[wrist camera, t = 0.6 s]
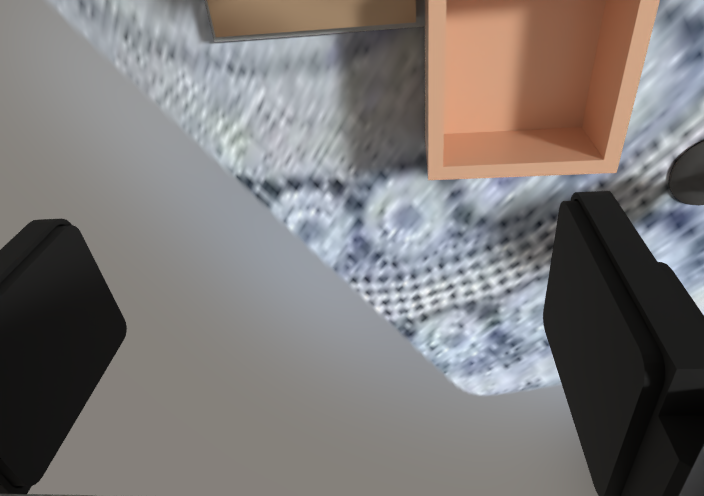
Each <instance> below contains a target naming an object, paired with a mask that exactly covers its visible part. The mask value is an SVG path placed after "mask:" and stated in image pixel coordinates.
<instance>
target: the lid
mask: <svg viewBox="0 0 704 496" xmlns="http://www.w3.org/2000/svg"><path fill="white" fill-rule="evenodd" d="M207 3H208V7H209V11H210V15H211V19H212V24H213V28H214V32H215V36H216V37H227V36H241V35H254V34H267V33H281V32H294V31H307V30H321V29H334V28H347V27H361V26H374V25H387V24H400V23H414V22H416V0H207Z"/></svg>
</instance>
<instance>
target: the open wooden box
mask: <svg viewBox="0 0 704 496" xmlns="http://www.w3.org/2000/svg"><path fill="white" fill-rule="evenodd" d="M659 1H660V0H425V147H426V159H427V170H428V180H446V179H471V178H496V177H521V176H546V175H571V174H596V173H617V169H618V165H619V161H620V157H621V153H622V149H623V145H624V141H625V137H626V133H627V129H628V125H629V121H630V117H631V113H632V109H633V105H634V101H635V97H636V93H637V89H638V85H639V81H640V77H641V73H642V69H643V65H644V61H645V57H646V53H647V49H648V45H649V41H650V37H651V33H652V29H653V25H654V21H655V17H656V13H657V9H658V5H659Z"/></svg>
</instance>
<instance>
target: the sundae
mask: <svg viewBox="0 0 704 496" xmlns="http://www.w3.org/2000/svg"><path fill="white" fill-rule="evenodd" d="M669 187H670V190H671V192H672V194H673V195H674V197H675V198H677V199H678V200H680V201H682V202H683V203H686V204H691V205H704V141H703V142H701V143H699V144H697V145H695V146H693V147H691V148H690V149H689V150H688V151H687V152H685V153H684V154H683V155H682V156H681V157H680V158H679V159H678V161H677V162H676V164H675V165H674V167H673V169H672V171H671V173H670V179H669Z"/></svg>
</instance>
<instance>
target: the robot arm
mask: <svg viewBox="0 0 704 496" xmlns="http://www.w3.org/2000/svg"><path fill="white" fill-rule="evenodd" d="M543 322H544V329H545V332H546V336H547V339H548V342H549V345H550V348H551V351H552V354H553V358H554V361H555V364H556V367H557V370H558V373H559V377H560V380H561V383H562V386H563V389H564V392H565V395H566V399H567V402H568V405H569V408H570V411H571V414H572V417H573V420H574V424H575V427H576V430H577V433H578V436H579V439H580V443H581V446H582V449H583V452H584V455H585V458H586V461H587V464H588V468H589V471H590V473H591V477H592V481H593V484H594V487H595V489H596V491H597V493H598V495H599V496H704V315H703V314H702V312H701V311H700V310H699V308H698V307H697V305H696V304H695V302H694V301H693V299H692V298H691V296H690V295H689V294H688V292H687V291H686V289H685V288H684V286H683V285H682V283H681V282H680V280H679V279H678V278H677V276H676V275H675V273H674V272H673V270H672V269H671V268H670V267H669V266H668V265H667V264H665V263H662V262H657V261H656V259H655V258H654V256H653V255H652V253H651V252H650V250H649V249H648V247H647V246H646V244H645V243H644V241H643V240H642V238H641V237H640V235H639V234H638V232H637V231H636V229H635V228H634V226H633V225H632V223H631V221H630V220H629V218H628V217H627V215H626V214H625V212H624V211H623V209H622V208H621V206H620V205H619V203H618V202H617V200H616V199H615V197H614V196H613V194H612V193H611V192H610V191H597V192H577V193H574V194H573V195H572V198H571V201H563V202H562V203H561V205H560V209H559V215H558V221H557V228H556V234H555V240H554V247H553V253H552V259H551V266H550V272H549V279H548V285H547V291H546V298H545V304H544V311H543ZM126 329H127V328H126V322H125V319H124V317H123V315H122V313H121V311H120V309H119V307H118V305H117V303H116V302H115V300H114V298H113V296H112V294H111V292H110V290H109V288H108V286H107V284H106V282H105V280H104V278H103V276H102V274H101V272H100V270H99V268H98V266H97V264H96V262H95V260H94V258H93V256H92V254H91V252H90V250H89V248H88V246H87V244H86V242H85V240H84V238H83V236H82V234H81V232H80V231H79V229H78V228H77V227H75V226H73V225H71V223H70V222H68V221H67V220H65V219H44V220H33V221H32V222H30V223H29V224H27V225H26V226H25V227H24V228H23V229H22V230H21V231H20V232H19V233H18V234H17V235H16V236H15V237H14V238H13V239H11V240H10V241H9V242H8V243H7V244H6V245H5V246H4V247H3V248H2V249H1V250H0V496H93V495H37V494H27V493H28V491H29V490H30V488H31V486H33V485H35V484H36V483H37V482H39V481H40V479H41V478H42V477H43V475H44V473H45V472H46V470H47V468H48V466H49V465H50V463H51V461H52V460H53V458H54V456H55V455H56V453H57V451H58V449H59V448H60V446H61V444H62V443H63V441H64V439H65V438H66V436H67V434H68V433H69V431H70V429H71V428H72V426H73V424H74V423H75V421H76V419H77V418H78V416H79V414H80V413H81V411H82V409H83V408H84V406H85V404H86V402H87V401H88V399H89V397H90V396H91V394H92V392H93V391H94V389H95V387H96V385H97V384H98V382H99V381H100V379H101V377H102V375H103V374H104V372H105V371H106V369H107V367H108V365H109V364H110V362H111V360H112V359H113V357H114V355H115V354H116V352H117V350H118V348H119V347H120V345H121V343H122V342H123V340H124V338H125V336H126Z"/></svg>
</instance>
